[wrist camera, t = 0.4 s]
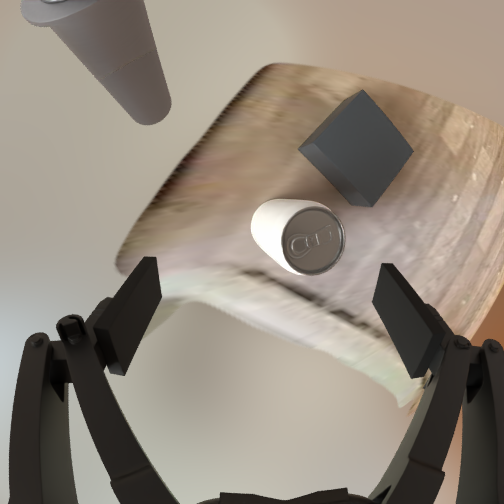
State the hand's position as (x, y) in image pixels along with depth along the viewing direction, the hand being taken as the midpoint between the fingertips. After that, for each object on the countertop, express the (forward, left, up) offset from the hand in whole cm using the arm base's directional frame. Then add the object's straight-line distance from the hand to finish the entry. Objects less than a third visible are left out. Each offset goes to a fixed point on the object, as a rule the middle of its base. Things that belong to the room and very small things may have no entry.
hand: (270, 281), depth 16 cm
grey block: (-3, +18, -18) cm, 26 cm away
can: (+1, +5, -18) cm, 19 cm away
